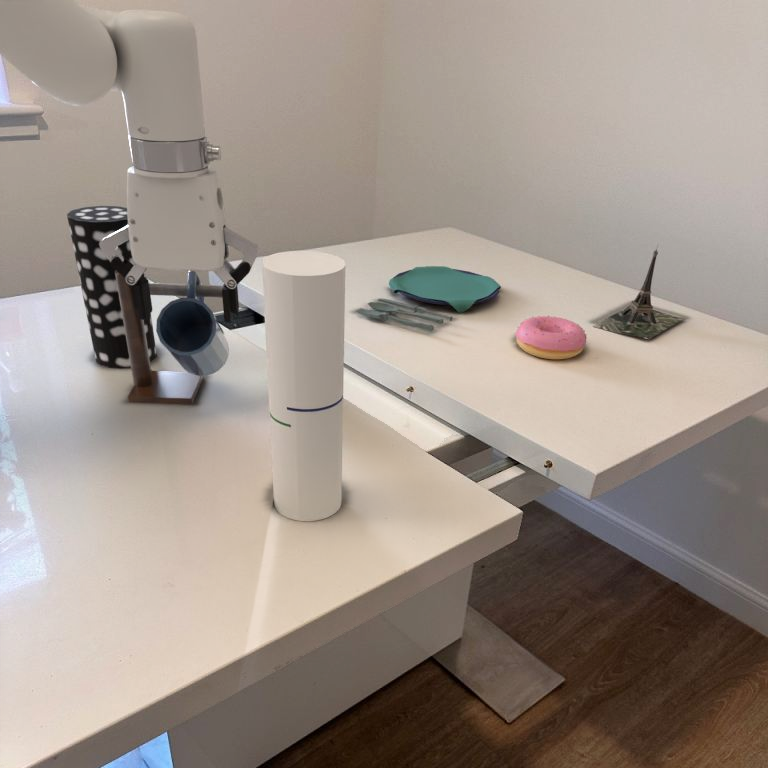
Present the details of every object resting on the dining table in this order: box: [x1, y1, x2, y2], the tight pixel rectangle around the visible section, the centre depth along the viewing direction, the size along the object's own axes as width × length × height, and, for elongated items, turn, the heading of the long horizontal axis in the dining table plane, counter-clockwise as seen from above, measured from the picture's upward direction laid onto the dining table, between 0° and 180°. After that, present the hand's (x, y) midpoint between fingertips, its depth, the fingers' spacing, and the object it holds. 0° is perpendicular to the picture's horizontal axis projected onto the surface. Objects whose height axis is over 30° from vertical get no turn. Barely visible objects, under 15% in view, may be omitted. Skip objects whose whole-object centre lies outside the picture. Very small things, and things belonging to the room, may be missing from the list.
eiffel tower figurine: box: [592, 244, 686, 340], centre depth 121 cm, size 15×10×13 cm
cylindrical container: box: [261, 250, 346, 522], centre depth 69 cm, size 7×7×25 cm
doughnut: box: [515, 315, 588, 360], centre depth 112 cm, size 11×11×4 cm
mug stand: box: [115, 271, 224, 405], centre depth 90 cm, size 13×8×16 cm, turn 91°
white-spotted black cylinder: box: [66, 205, 158, 370], centre depth 97 cm, size 8×8×20 cm
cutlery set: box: [355, 265, 502, 332], centre depth 128 cm, size 20×30×2 cm, turn 148°
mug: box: [155, 271, 230, 377], centre depth 87 cm, size 11×7×9 cm
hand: (188, 317), depth 84 cm, fingers open, 9 cm apart
